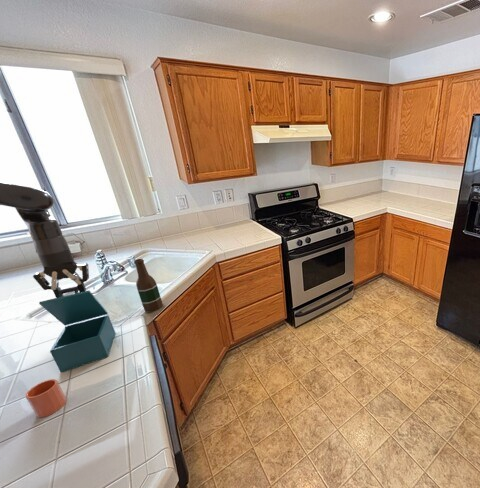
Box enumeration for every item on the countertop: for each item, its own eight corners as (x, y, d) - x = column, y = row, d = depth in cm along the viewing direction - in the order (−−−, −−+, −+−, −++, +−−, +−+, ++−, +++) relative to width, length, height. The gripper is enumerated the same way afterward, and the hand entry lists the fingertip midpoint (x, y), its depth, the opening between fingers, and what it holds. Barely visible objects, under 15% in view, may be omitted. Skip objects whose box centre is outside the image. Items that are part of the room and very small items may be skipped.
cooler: (108, 356, 91) (99, 336, 89) (60, 372, 86) (49, 351, 83) (115, 333, 104) (108, 314, 101) (74, 345, 99) (65, 325, 96)
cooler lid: (89, 292, 89) (89, 279, 92) (39, 303, 83) (40, 290, 86) (107, 314, 101) (107, 302, 104) (64, 325, 95) (65, 312, 98)
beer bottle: (167, 304, 123) (152, 257, 115) (150, 313, 116) (134, 264, 108) (156, 301, 126) (142, 255, 118) (140, 310, 119) (123, 262, 112)
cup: (32, 421, 69) (21, 401, 67) (41, 404, 74) (31, 385, 72) (62, 410, 72) (52, 390, 70) (69, 394, 77) (60, 375, 75)
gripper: (84, 243, 93) (100, 286, 98) (28, 252, 86) (49, 297, 92) (78, 248, 87) (95, 293, 92) (17, 258, 80) (40, 306, 85)
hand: (72, 295), depth 92 cm, fingers closed on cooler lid, 5 cm apart
